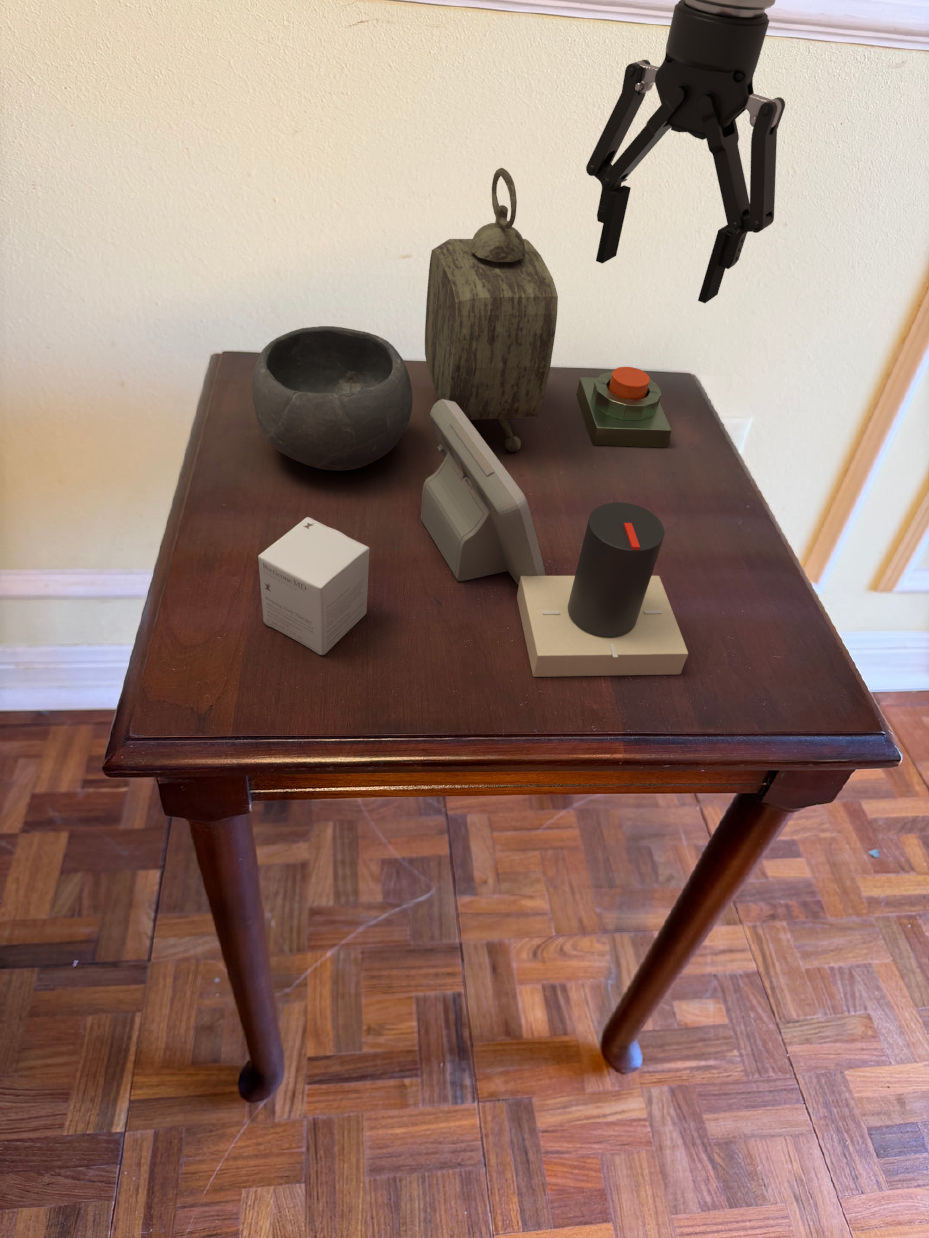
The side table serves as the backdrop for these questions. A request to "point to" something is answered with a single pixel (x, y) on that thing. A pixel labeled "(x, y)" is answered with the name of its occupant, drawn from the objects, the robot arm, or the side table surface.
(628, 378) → the push button
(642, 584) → the dial
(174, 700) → the side table surface
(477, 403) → the tabletop clock
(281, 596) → the product box
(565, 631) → the dial panel
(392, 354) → the bowl
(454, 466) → the digital clock
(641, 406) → the button block
